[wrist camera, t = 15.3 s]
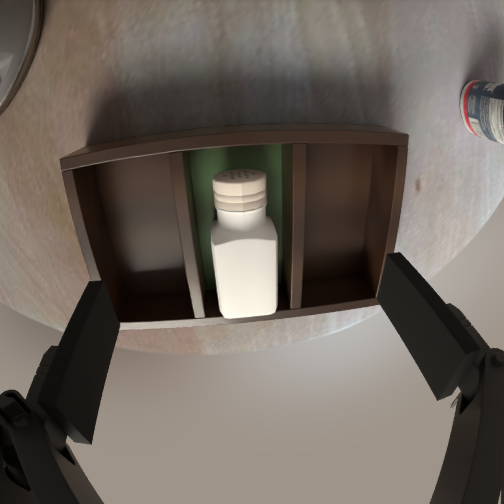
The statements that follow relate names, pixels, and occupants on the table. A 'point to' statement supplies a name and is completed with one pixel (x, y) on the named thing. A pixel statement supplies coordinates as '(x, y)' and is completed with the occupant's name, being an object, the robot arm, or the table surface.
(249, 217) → the salt shaker
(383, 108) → the table surface
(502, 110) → the pill bottle
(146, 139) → the organizer
